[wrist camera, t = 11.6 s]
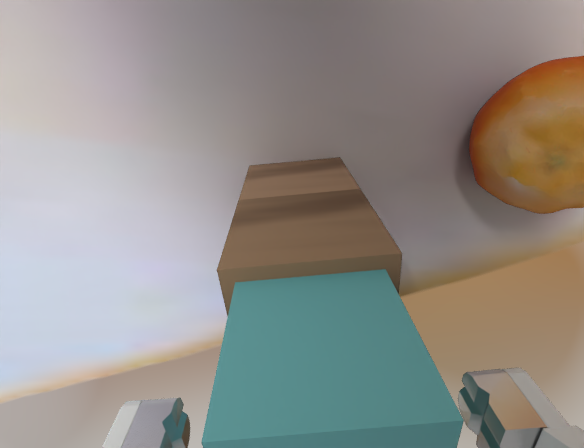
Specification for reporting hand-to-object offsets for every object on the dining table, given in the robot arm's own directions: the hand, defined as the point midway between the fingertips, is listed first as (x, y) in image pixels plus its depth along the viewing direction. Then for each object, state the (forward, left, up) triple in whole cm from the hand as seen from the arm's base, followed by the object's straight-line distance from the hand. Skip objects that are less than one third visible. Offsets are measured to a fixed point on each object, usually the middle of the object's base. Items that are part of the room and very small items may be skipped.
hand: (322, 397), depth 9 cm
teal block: (0, 0, -3) cm, 3 cm away
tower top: (0, 0, -9) cm, 9 cm away
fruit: (-4, +14, -15) cm, 21 cm away
